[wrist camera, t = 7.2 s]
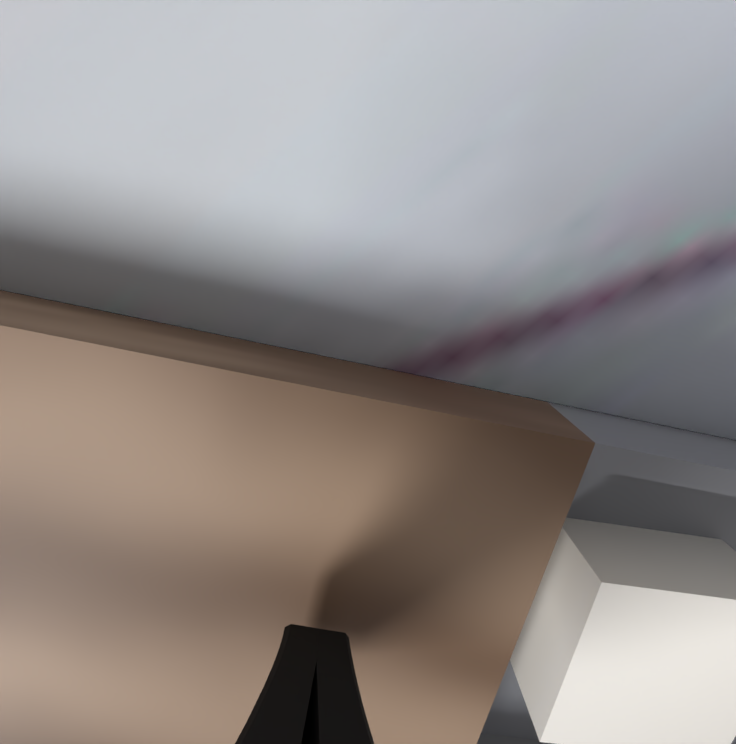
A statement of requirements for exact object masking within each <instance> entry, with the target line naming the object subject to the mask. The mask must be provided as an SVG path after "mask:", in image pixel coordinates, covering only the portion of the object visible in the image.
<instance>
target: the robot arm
mask: <svg viewBox="0 0 736 744" xmlns="http://www.w3.org/2000/svg"><path fill="white" fill-rule="evenodd" d="M235 744H374V741H373V738H372V734H371V731H370V728H369V724H368V721H367V717H366V714H365V710H364V706H363V703H362V699H361V695H360V691H359V687H358V683H357V678H356V674H355V669H354V664H353V659H352V654H351V648H350V641H349V637H348V636H347V634H346V633H344V632H338V631H332V630H325V629H319V628H313V627H307V626H301V625H295V624H290V625H288V626H286V627H285V628H284V633H283V637H282V641H281V644H280V647H279V650H278V653H277V656H276V658H275V661H274V664H273V666H272V668H271V671H270V673H269V675H268V678H267V680H266V682H265V685H264V687H263V689H262V691H261V693H260V695H259V697H258V699H257V701H256V703H255V706H254V708H253V710H252V712H251V714H250V716H249V718H248V720H247V722H246V724H245V726H244V728H243V730H242V732H241V733H240V735H239V737H238V739H237V741H236V742H235Z"/></svg>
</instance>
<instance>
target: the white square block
mask: <svg viewBox="0 0 736 744" xmlns="http://www.w3.org/2000/svg"><path fill="white" fill-rule="evenodd" d="M510 662H511V665H512V667H513V670H514V673H515V676H516V678H517V681H518V684H519V687H520V689H521V692H522V695H523V698H524V700H525V703H526V706H527V709H528V711H529V714H530V717H531V720H532V722H533V725H534V728H535V731H536V733H537V736H538V739H539V742H544V743H554V744H731V743H732V741H733V740H734V738H735V736H736V551H735V550H734V549H732V548H731V547H730V546H729V545H728V544H726V543H725V542H724V541H723V540H722V539H715V538H708V537H701V536H694V535H687V534H680V533H672V532H665V531H658V530H651V529H644V528H637V527H630V526H623V525H616V524H608V523H601V522H594V521H587V520H580V519H573V518H566V519H565V522H564V524H563V527H562V529H561V532H560V534H559V537H558V539H557V542H556V544H555V547H554V549H553V552H552V554H551V557H550V559H549V562H548V565H547V567H546V570H545V572H544V575H543V577H542V580H541V582H540V585H539V587H538V590H537V592H536V595H535V597H534V600H533V602H532V605H531V608H530V610H529V613H528V615H527V618H526V620H525V623H524V625H523V628H522V630H521V633H520V635H519V638H518V640H517V643H516V645H515V648H514V651H513V653H512V656H511V658H510Z"/></svg>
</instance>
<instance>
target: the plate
mask: <svg viewBox="0 0 736 744" xmlns="http://www.w3.org/2000/svg"><path fill="white" fill-rule="evenodd" d="M594 446H595V442H594V441H592V440H591V439H590V438H589V437H588V436H587V435H585V434H584V433H583V432H582V431H581V430H579V429H578V428H577V427H576V426H575V425H574V424H572V423H571V422H570V421H569V420H568V419H567V418H565V417H564V416H563V415H562V414H561V413H560V412H558V411H557V410H556V409H555V408H554V407H552V406H551V405H550V404H549V403H548V402H545V401H540V400H535V399H530V398H525V397H521V396H516V395H511V394H506V393H501V392H496V391H491V390H486V389H481V388H477V387H472V386H467V385H462V384H457V383H452V382H447V381H442V380H437V379H433V378H428V377H423V376H418V375H413V374H408V373H403V372H398V371H393V370H389V369H384V368H379V367H374V366H369V365H364V364H359V363H354V362H349V361H344V360H340V359H335V358H330V357H325V356H320V355H315V354H310V353H305V352H300V351H296V350H291V349H286V348H281V347H276V346H271V345H266V344H261V343H256V342H252V341H247V340H242V339H237V338H232V337H227V336H222V335H217V334H212V333H208V332H203V331H198V330H193V329H188V328H183V327H178V326H173V325H168V324H163V323H159V322H154V321H149V320H144V319H139V318H134V317H129V316H124V315H119V314H115V313H110V312H105V311H100V310H95V309H90V308H85V307H80V306H75V305H71V304H66V303H61V302H56V301H51V300H46V299H41V298H36V297H31V296H26V295H22V294H17V293H12V292H7V291H2V290H0V744H235V742H236V741H237V739H238V737H239V735H240V733H241V732H242V730H243V728H244V726H245V724H246V722H247V720H248V718H249V716H250V714H251V712H252V710H253V708H254V706H255V703H256V701H257V699H258V697H259V695H260V693H261V691H262V689H263V687H264V685H265V682H266V680H267V678H268V675H269V673H270V671H271V668H272V666H273V664H274V661H275V658H276V656H277V653H278V650H279V647H280V644H281V641H282V637H283V633H284V628H285V627H286V626H288V625H290V624H295V625H301V626H307V627H313V628H319V629H325V630H332V631H338V632H344V633H346V634H347V636H348V637H349V641H350V648H351V654H352V659H353V664H354V669H355V674H356V678H357V683H358V687H359V691H360V695H361V699H362V703H363V706H364V710H365V714H366V717H367V721H368V724H369V728H370V731H371V734H372V738H373V741H374V744H477V742H478V739H479V737H480V734H481V731H482V729H483V726H484V724H485V721H486V719H487V716H488V714H489V711H490V709H491V706H492V704H493V701H494V699H495V696H496V694H497V691H498V688H499V686H500V683H501V681H502V678H503V676H504V673H505V671H506V668H507V666H508V663H509V661H510V658H511V656H512V653H513V651H514V648H515V645H516V643H517V640H518V638H519V635H520V633H521V630H522V628H523V625H524V623H525V620H526V618H527V615H528V613H529V610H530V608H531V605H532V602H533V600H534V597H535V595H536V592H537V590H538V587H539V585H540V582H541V580H542V577H543V575H544V572H545V570H546V567H547V565H548V562H549V559H550V557H551V554H552V552H553V549H554V547H555V544H556V542H557V539H558V537H559V534H560V532H561V529H562V527H563V524H564V522H565V519H566V516H567V514H568V511H569V509H570V506H571V504H572V501H573V499H574V496H575V494H576V491H577V489H578V486H579V484H580V481H581V479H582V476H583V473H584V471H585V468H586V466H587V463H588V461H589V458H590V456H591V453H592V451H593V448H594Z"/></svg>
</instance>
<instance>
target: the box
mask: <svg viewBox="0 0 736 744" xmlns="http://www.w3.org/2000/svg"><path fill="white" fill-rule="evenodd" d="M548 403H549V404H550V405H551V406H552V407H554V408H555V409H556V410H557V411H558V412H560V413H561V414H562V415H563V416H564V417H565V418H567V419H568V420H569V421H570V422H571V423H572V424H574V425H575V426H576V427H577V428H578V429H579V430H581V431H582V432H583V433H584V434H585V435H587V436H588V437H589V438H590V439H591V440H592V441H594V442H595V446H594V448H593V451H592V453H591V456H590V458H589V461H588V463H587V466H586V468H585V471H584V473H583V476H582V479H581V481H580V484H579V486H578V489H577V491H576V494H575V496H574V499H573V501H572V504H571V506H570V509H569V511H568V514H567V516H566V518H573V519H580V520H587V521H594V522H601V523H608V524H616V525H623V526H630V527H637V528H644V529H651V530H658V531H665V532H672V533H680V534H687V535H694V536H701V537H708V538H715V539H722V540H723V541H724V542H725V543H726V544H728V545H729V546H730V547H731V548H732V549H734V550H735V551H736V440H731V439H726V438H721V437H716V436H711V435H706V434H702V433H697V432H692V431H687V430H682V429H677V428H672V427H667V426H662V425H658V424H653V423H648V422H643V421H638V420H633V419H628V418H623V417H618V416H614V415H609V414H604V413H599V412H594V411H589V410H584V409H579V408H574V407H570V406H565V405H560V404H555V403H550V402H548ZM477 744H554V743H544V742H539V739H538V736H537V733H536V731H535V728H534V725H533V722H532V720H531V717H530V714H529V711H528V709H527V706H526V703H525V700H524V698H523V695H522V692H521V689H520V687H519V684H518V681H517V678H516V676H515V673H514V670H513V667H512V665H511V662H510V661H509V663H508V666H507V668H506V671H505V673H504V676H503V678H502V681H501V683H500V686H499V688H498V691H497V694H496V696H495V699H494V701H493V704H492V706H491V709H490V711H489V714H488V716H487V719H486V721H485V724H484V726H483V729H482V731H481V734H480V737H479V739H478V742H477ZM731 744H736V736H735V738H734V740H733V741H732V743H731Z"/></svg>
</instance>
